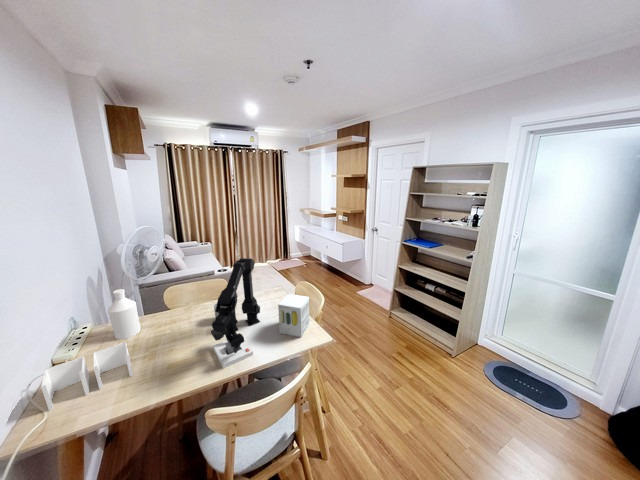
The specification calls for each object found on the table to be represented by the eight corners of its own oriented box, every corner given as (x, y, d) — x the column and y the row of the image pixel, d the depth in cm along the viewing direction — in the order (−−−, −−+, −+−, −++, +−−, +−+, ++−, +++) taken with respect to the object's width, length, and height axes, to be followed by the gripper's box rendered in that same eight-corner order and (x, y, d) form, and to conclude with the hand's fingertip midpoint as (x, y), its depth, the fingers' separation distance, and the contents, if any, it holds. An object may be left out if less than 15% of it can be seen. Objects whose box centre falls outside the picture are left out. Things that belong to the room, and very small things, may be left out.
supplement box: (278, 333, 136) (277, 304, 132) (288, 320, 148) (287, 293, 144) (301, 337, 132) (301, 308, 128) (309, 324, 144) (309, 296, 140)
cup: (233, 318, 150) (232, 303, 147) (222, 325, 143) (220, 310, 140) (224, 314, 154) (223, 300, 151) (212, 321, 147) (210, 305, 145)
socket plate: (213, 349, 124) (212, 344, 123) (241, 338, 132) (240, 334, 131) (223, 368, 111) (222, 363, 111) (253, 355, 120) (252, 350, 119)
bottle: (141, 324, 144) (133, 284, 138) (141, 334, 135) (132, 292, 128) (115, 331, 138) (105, 289, 132) (113, 342, 129) (102, 298, 122)
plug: (226, 351, 122) (225, 341, 120) (236, 346, 125) (235, 337, 123) (229, 356, 118) (228, 346, 117) (239, 351, 121) (239, 341, 120)
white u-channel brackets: (130, 362, 115) (125, 341, 113) (133, 376, 107) (128, 354, 105) (52, 392, 100) (45, 369, 97) (49, 411, 92) (40, 386, 89)
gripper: (206, 316, 120) (209, 344, 124) (217, 335, 105) (221, 366, 109) (229, 308, 126) (232, 335, 130) (243, 325, 112) (246, 355, 116)
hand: (232, 347), depth 121 cm, fingers open, 9 cm apart
